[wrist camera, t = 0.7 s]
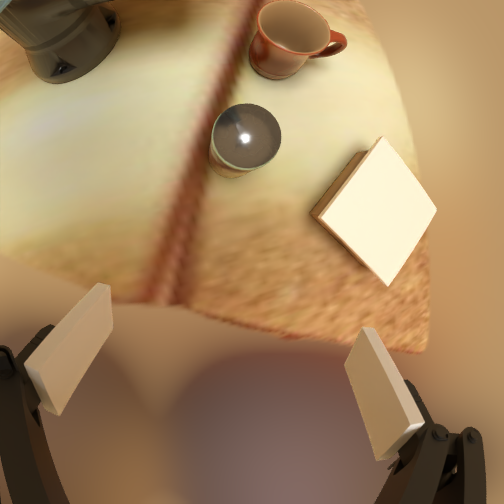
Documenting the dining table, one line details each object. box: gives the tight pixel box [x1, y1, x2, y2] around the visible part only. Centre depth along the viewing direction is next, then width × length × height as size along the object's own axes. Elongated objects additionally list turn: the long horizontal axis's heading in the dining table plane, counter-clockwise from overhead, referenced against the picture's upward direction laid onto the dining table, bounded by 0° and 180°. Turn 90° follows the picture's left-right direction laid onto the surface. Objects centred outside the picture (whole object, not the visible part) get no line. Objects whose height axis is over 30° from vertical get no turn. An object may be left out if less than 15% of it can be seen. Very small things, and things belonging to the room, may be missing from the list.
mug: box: [249, 0, 347, 79], centre depth 28 cm, size 12×9×10 cm
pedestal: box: [309, 136, 437, 286], centre depth 36 cm, size 14×14×7 cm
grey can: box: [208, 104, 281, 178], centre depth 29 cm, size 6×6×12 cm
